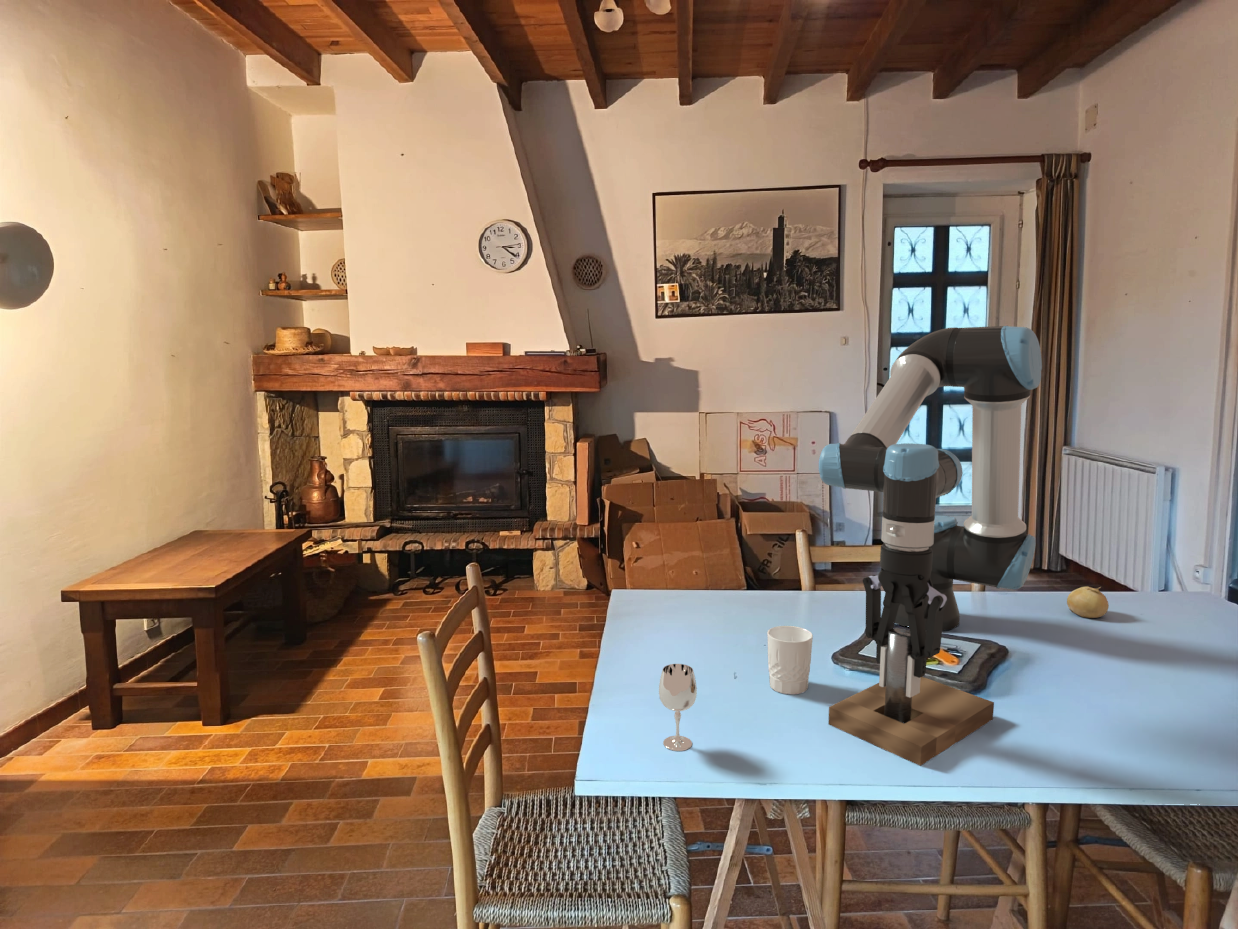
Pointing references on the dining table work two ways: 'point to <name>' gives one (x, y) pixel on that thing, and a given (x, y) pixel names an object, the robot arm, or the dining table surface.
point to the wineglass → (677, 699)
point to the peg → (898, 675)
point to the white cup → (789, 658)
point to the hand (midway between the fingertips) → (899, 689)
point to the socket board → (913, 720)
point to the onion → (1087, 602)
